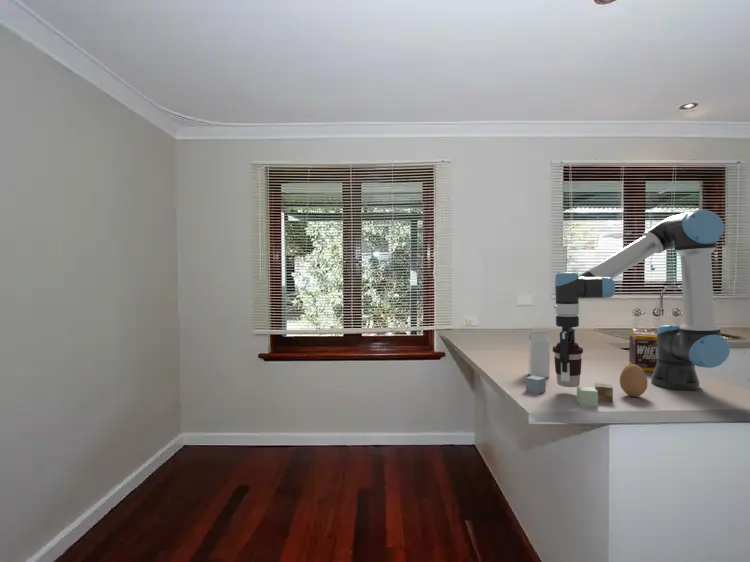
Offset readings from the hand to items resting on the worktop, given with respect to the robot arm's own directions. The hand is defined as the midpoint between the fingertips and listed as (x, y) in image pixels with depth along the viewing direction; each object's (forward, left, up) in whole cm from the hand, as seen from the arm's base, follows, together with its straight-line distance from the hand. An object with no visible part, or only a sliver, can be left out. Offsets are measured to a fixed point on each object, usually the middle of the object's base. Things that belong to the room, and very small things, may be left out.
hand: (568, 378), depth 154 cm
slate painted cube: (+10, +3, -6) cm, 12 cm away
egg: (-20, -9, -6) cm, 22 cm away
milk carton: (+15, -22, -6) cm, 27 cm away
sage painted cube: (-8, +9, -6) cm, 13 cm away
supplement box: (-21, -64, -6) cm, 67 cm away
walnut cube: (-12, +1, -6) cm, 13 cm away
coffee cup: (0, 0, -3) cm, 3 cm away
